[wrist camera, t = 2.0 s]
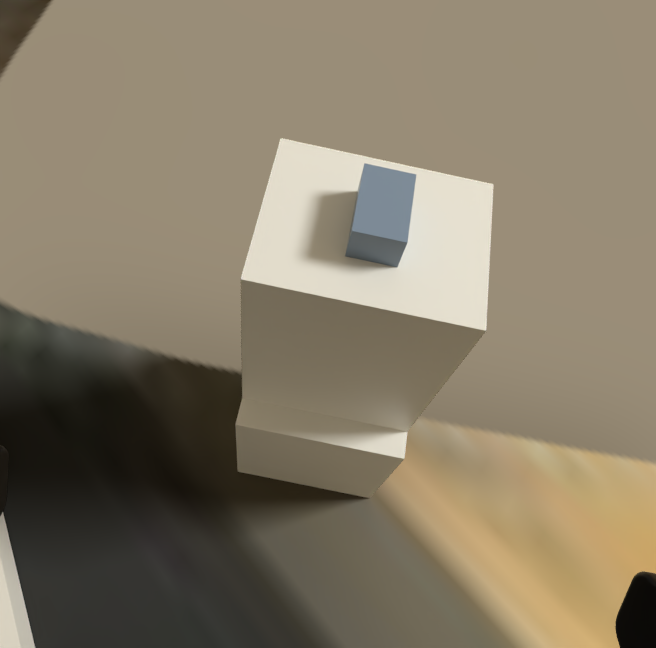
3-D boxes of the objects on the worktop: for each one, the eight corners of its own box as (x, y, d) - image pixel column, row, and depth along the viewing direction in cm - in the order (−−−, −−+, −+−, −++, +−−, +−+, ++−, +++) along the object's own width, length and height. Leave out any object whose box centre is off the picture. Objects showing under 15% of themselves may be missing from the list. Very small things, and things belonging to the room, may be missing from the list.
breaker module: (369, 498, 20) (501, 348, 10) (237, 471, 20) (228, 291, 10) (387, 364, 23) (509, 129, 12) (269, 339, 22) (290, 81, 12)
